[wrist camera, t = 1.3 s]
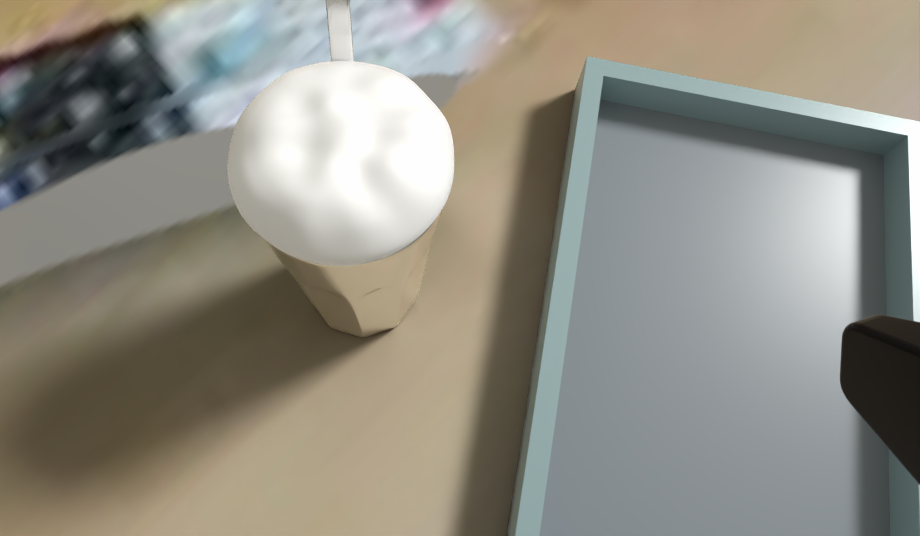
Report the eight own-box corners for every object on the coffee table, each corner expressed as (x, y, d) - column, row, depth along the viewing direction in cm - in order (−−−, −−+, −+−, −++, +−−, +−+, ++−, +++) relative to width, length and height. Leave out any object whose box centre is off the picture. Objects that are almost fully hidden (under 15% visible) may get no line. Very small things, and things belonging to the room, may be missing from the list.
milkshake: (436, 192, 24) (453, -32, 15) (441, 357, 22) (465, 221, 13) (291, 194, 24) (215, -36, 14) (284, 361, 22) (192, 223, 13)
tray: (903, 669, 20) (948, 680, 18) (498, 588, 20) (506, 592, 18) (892, 150, 26) (925, 123, 24) (575, 88, 26) (587, 56, 24)
